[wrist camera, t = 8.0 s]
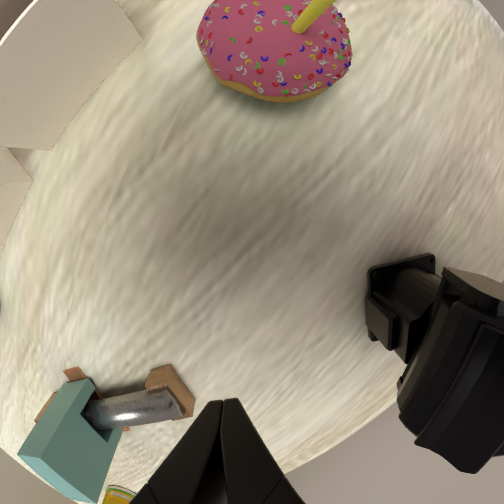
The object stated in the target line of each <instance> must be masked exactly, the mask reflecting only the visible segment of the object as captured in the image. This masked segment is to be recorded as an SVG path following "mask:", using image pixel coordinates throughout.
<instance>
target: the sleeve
mask: <svg viewBox="0 0 504 504" xmlns="http://www.w3.org/2000/svg"><path fill="white" fill-rule="evenodd" d="M94 389H95V386H94V385H93V384H92V382H91V381H90V380H89V378H87V379H82V380H78V381H74V382H70V383H65V384H63V386H62V387H61V388H60V390H59V391H58V393H57V394H56V395H55V397H54V398H53V400H52V401H51V403H50V404H49V406H48V407H47V408H46V410H45V411H44V413H43V414H42V416H41V417H40V419H39V420H38V422H37V423H36V425H35V426H34V428H33V429H32V431H31V432H30V434H29V436H28V437H27V439H26V440H25V442H24V443H23V445H22V447H21V448H20V450H19V451H18V453H17V455H18V456H19V457H20V458H21V459H22V460H23V461H24V462H25V463H26V464H27V465H28V466H30V467H31V468H32V469H33V470H34V471H35V472H36V473H37V474H38V475H40V476H41V477H42V478H43V479H44V480H45V481H47V482H48V483H49V484H50V485H51V486H53V487H54V488H55V489H56V490H58V491H59V492H60V493H62V494H63V495H64V496H66V497H67V498H68V499H72V500H77V501H82V502H88V503H94V504H97V502H98V499H99V496H100V493H101V490H102V487H103V484H104V481H105V478H106V475H107V473H108V470H109V467H110V464H111V461H112V459H113V456H114V453H115V450H116V448H117V445H118V442H119V440H120V437H121V434H122V432H123V429H124V427H122V428H114V429H104V430H101V431H95V430H94V429H93V428H92V427H91V426H90V425H89V424H88V423H87V422H86V420H85V419H84V418H83V417H82V416H81V415H80V413H81V412H82V410H83V408H84V406H85V405H86V403H87V401H88V399H89V398H90V396H91V394H92V392H93V391H94Z"/></svg>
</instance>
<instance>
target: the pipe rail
mask: <svg viewBox="0 0 504 504" xmlns="http://www.w3.org/2000/svg"><path fill="white" fill-rule="evenodd" d="M63 372H64V373H65V375H66V376H67V377H68V379H69V380H70V381H71V382H74V381H78V380H82V379H87V378H86V376H85V375H84V374H83V372H82V371H81V370H80V368H79V367H75V368H71V369H68V370H64V371H63ZM144 386H145V387H146V388H147V389H146V390H142V391H137V392H133V393H128V394H124V395H119V396H114V397H109V398H104V399H103V398H102V397H101V396H100V395H99V393H98V392H97V391H96V390H95V389H94V391H93V392H92V394H91V396H90V398H89V399H88V401H87V403H86V405H85V406H84V408H83V410H82V412H81V413H80V415H81V416H82V417H83V418H84V419H85V420H86V422H87V423H88V424H89V425H90V426H91V427H92V428H93V429H94V430H95V431H101V430H104V429H114V428H122V427H124V429H123V431H130V429H129V428H128V427H130V426H137V425H143V424H150V423H155V422H161V421H166V420H171V419H172V421H174V420H179V419H184V418H188V417H193V411H194V404H195V399H194V397H193V396H192V395H191V393H190V392H189V391H188V389H187V388H186V386H185V385H184V384H183V382H182V381H181V379H180V378H179V376H178V375H177V374H176V372H175V371H174V369H173V368H172V366H171V365H170V364H169V365H166V366H162V367H159V368H156V369H152V370H151V371H150V373H149V376H148V378H147V381H146V383H145V385H144ZM57 393H58V392H55V393H53V394H52V396H51V397H50V398H49V400H48V401H47V403H46V404H45V405H44V407H43V408H42V410H41V411H40V413H39V414H38V415H37V417H36V418H35V420H34V421H35V422H36V423H37V422H38V420H39V419H40V417H41V416H42V414H43V413H44V411H45V410H46V408H47V407H48V406H49V404H50V403H51V401H52V400H53V398H54V397H55V395H56V394H57Z"/></svg>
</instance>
